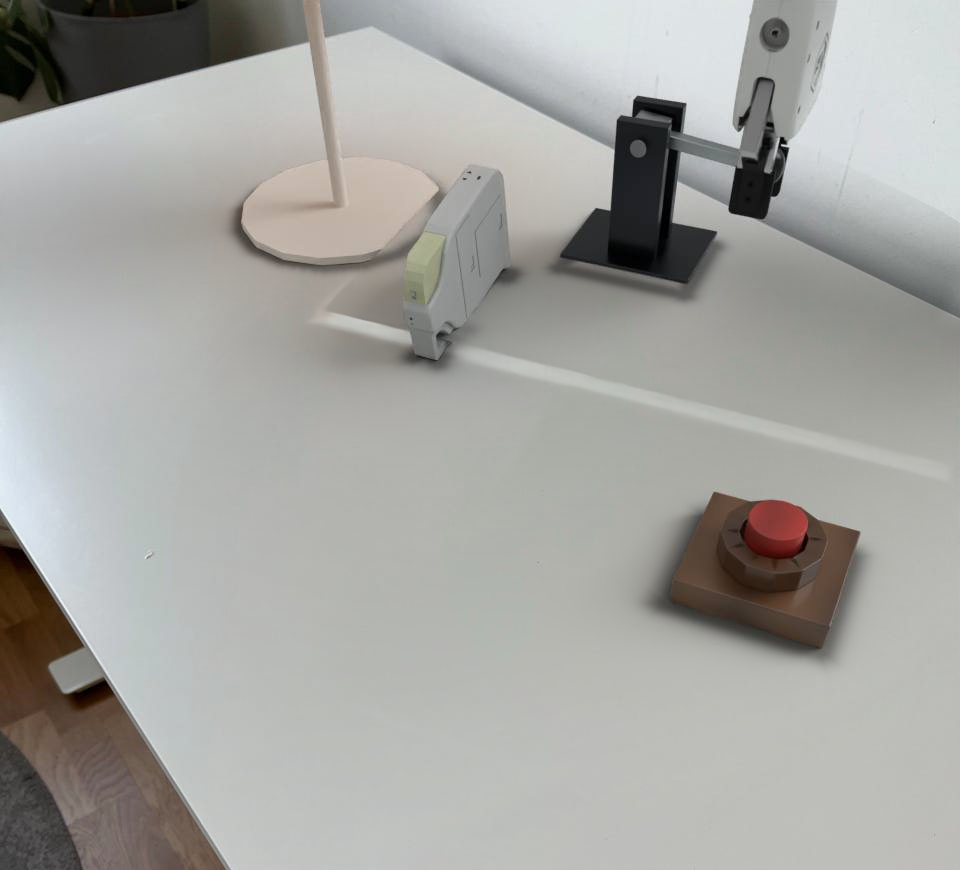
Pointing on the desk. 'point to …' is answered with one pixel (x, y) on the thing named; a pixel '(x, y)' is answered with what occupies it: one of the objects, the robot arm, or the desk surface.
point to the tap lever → (708, 146)
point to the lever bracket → (643, 203)
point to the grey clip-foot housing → (456, 258)
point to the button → (775, 529)
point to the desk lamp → (333, 191)
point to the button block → (764, 574)
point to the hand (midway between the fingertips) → (754, 201)
